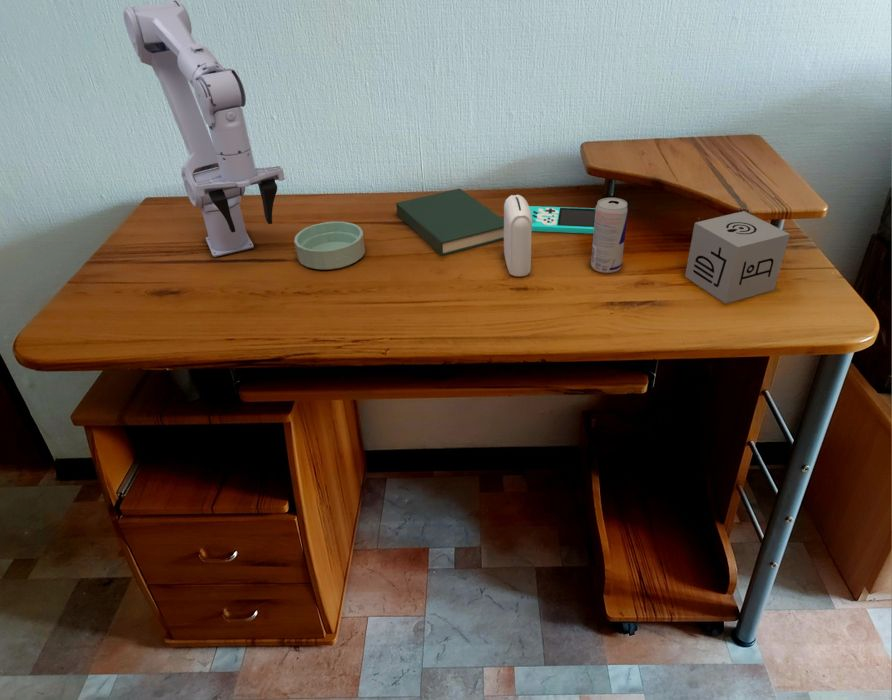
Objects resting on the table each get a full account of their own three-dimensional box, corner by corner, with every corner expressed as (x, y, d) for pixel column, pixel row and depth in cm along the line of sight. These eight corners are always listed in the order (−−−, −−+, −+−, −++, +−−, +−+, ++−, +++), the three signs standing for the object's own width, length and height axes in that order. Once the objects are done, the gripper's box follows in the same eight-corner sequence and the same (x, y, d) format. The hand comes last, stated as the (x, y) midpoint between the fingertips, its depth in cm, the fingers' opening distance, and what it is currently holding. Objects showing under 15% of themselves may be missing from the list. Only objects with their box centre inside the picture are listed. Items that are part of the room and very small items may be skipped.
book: (397, 215, 141) (396, 202, 139) (460, 200, 146) (459, 188, 144) (441, 256, 124) (440, 242, 123) (510, 237, 129) (510, 224, 128)
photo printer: (502, 252, 124) (502, 189, 117) (524, 250, 124) (526, 187, 117) (508, 278, 116) (508, 212, 109) (532, 277, 116) (534, 211, 109)
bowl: (290, 250, 129) (286, 230, 127) (352, 235, 133) (350, 216, 131) (308, 278, 120) (304, 257, 117) (375, 261, 124) (372, 240, 121)
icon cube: (725, 303, 106) (738, 247, 100) (684, 276, 114) (694, 222, 108) (774, 289, 109) (789, 234, 103) (732, 264, 116) (744, 210, 111)
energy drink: (624, 262, 119) (631, 199, 112) (617, 276, 115) (624, 211, 108) (594, 258, 121) (600, 195, 114) (587, 271, 117) (592, 207, 110)
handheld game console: (524, 210, 140) (524, 204, 139) (602, 213, 137) (602, 207, 136) (519, 230, 132) (519, 224, 131) (601, 234, 129) (602, 227, 128)
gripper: (191, 165, 104) (213, 244, 111) (282, 148, 108) (297, 225, 116) (185, 152, 109) (206, 228, 117) (272, 137, 114) (286, 211, 121)
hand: (251, 226), depth 117 cm, fingers open, 6 cm apart
